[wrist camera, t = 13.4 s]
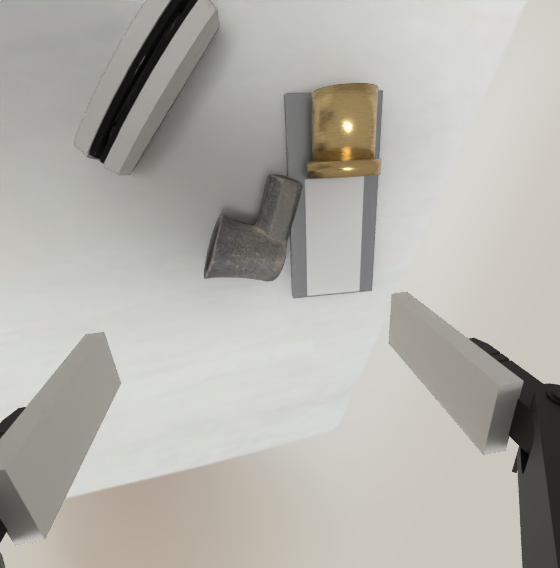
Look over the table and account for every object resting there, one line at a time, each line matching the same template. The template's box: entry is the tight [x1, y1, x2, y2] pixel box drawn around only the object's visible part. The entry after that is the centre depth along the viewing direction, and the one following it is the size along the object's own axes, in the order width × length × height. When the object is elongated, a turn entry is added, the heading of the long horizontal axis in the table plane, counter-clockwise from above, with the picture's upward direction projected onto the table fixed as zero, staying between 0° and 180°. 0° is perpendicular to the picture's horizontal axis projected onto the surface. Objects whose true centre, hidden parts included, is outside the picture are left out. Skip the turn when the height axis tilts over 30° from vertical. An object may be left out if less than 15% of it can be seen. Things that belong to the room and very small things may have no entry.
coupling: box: [306, 83, 381, 178], centre depth 31 cm, size 7×7×7 cm
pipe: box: [204, 174, 303, 281], centre depth 34 cm, size 6×13×8 cm
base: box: [284, 90, 383, 298], centre depth 36 cm, size 22×10×1 cm, turn 3°
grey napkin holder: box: [74, 0, 220, 175], centre depth 27 cm, size 17×5×10 cm, turn 143°
